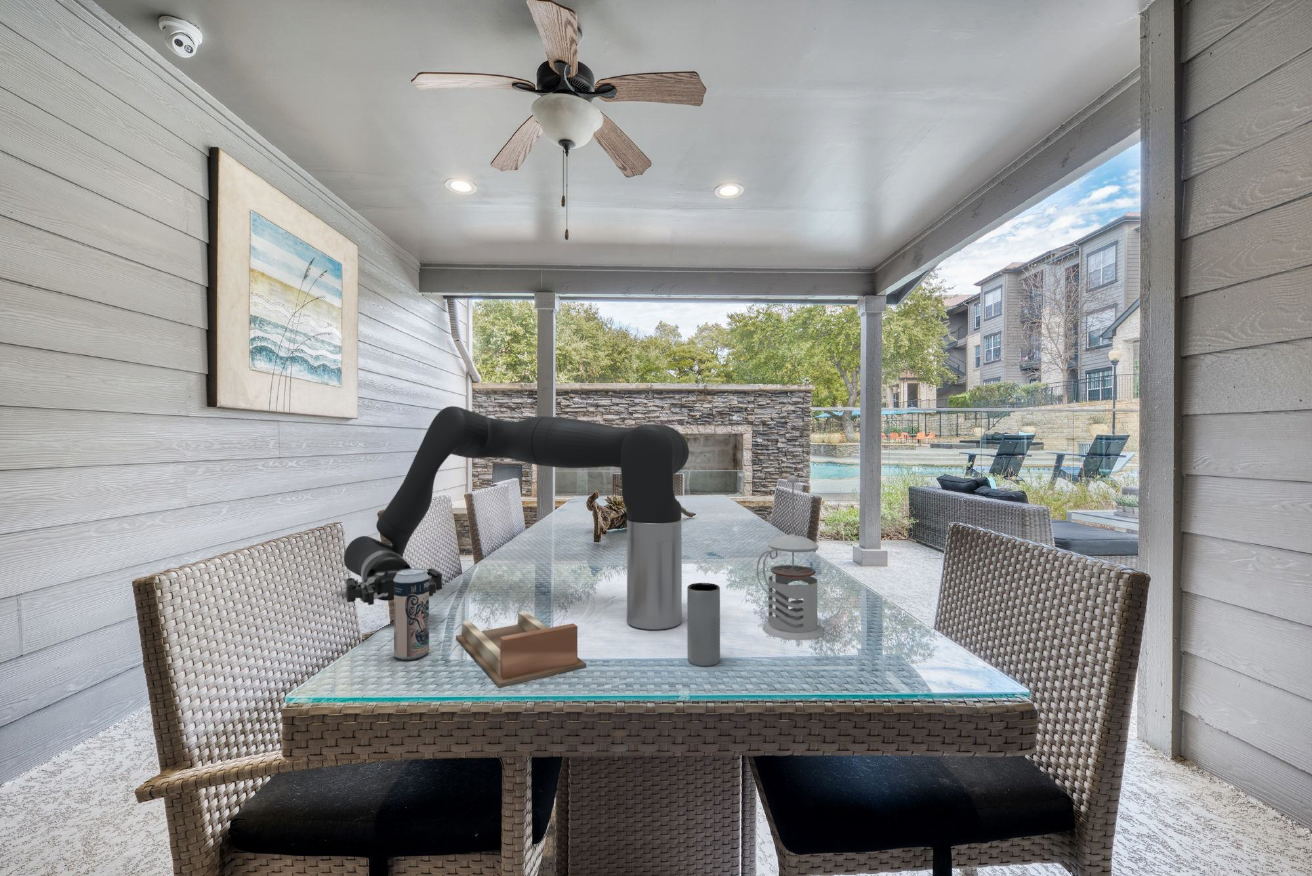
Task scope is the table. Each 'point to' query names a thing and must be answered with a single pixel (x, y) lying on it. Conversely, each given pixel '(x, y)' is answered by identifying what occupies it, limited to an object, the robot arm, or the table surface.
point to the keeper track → (522, 650)
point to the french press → (792, 589)
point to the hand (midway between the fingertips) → (401, 594)
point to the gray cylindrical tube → (703, 624)
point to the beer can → (411, 614)
